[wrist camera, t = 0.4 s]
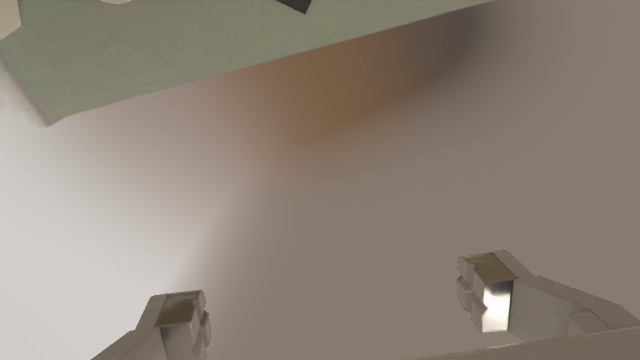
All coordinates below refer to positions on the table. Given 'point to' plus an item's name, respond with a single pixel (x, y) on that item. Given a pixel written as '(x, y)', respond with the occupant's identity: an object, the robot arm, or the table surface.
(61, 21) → the table surface
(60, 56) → the table surface
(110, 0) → the beverage can
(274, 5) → the table surface
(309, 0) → the mat
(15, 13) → the medicine bottle
